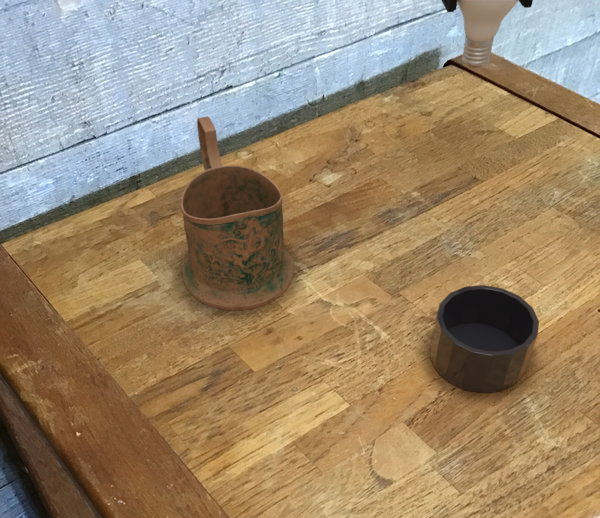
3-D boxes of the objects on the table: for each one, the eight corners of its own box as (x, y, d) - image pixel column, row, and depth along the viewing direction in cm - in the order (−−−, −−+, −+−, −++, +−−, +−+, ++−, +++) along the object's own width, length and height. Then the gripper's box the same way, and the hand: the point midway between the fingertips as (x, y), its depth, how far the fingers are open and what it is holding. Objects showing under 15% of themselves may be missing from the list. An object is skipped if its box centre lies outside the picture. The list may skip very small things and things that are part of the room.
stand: (509, 320, 72) (520, 281, 68) (538, 388, 66) (552, 349, 63) (421, 328, 71) (427, 289, 68) (443, 397, 66) (451, 359, 62)
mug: (260, 197, 85) (255, 99, 76) (308, 295, 74) (308, 194, 65) (162, 217, 83) (144, 118, 74) (196, 321, 72) (180, 220, 63)
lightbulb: (455, 46, 76) (472, -75, 67) (515, 58, 74) (541, -64, 65) (433, 73, 72) (448, -51, 64) (495, 87, 70) (520, -39, 62)
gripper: (423, -235, 52) (400, 27, 66) (662, -244, 53) (589, 16, 67) (404, -256, 57) (386, -8, 70) (623, -264, 57) (563, -18, 71)
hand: (485, 2), depth 68 cm, fingers closed on lightbulb, 6 cm apart
